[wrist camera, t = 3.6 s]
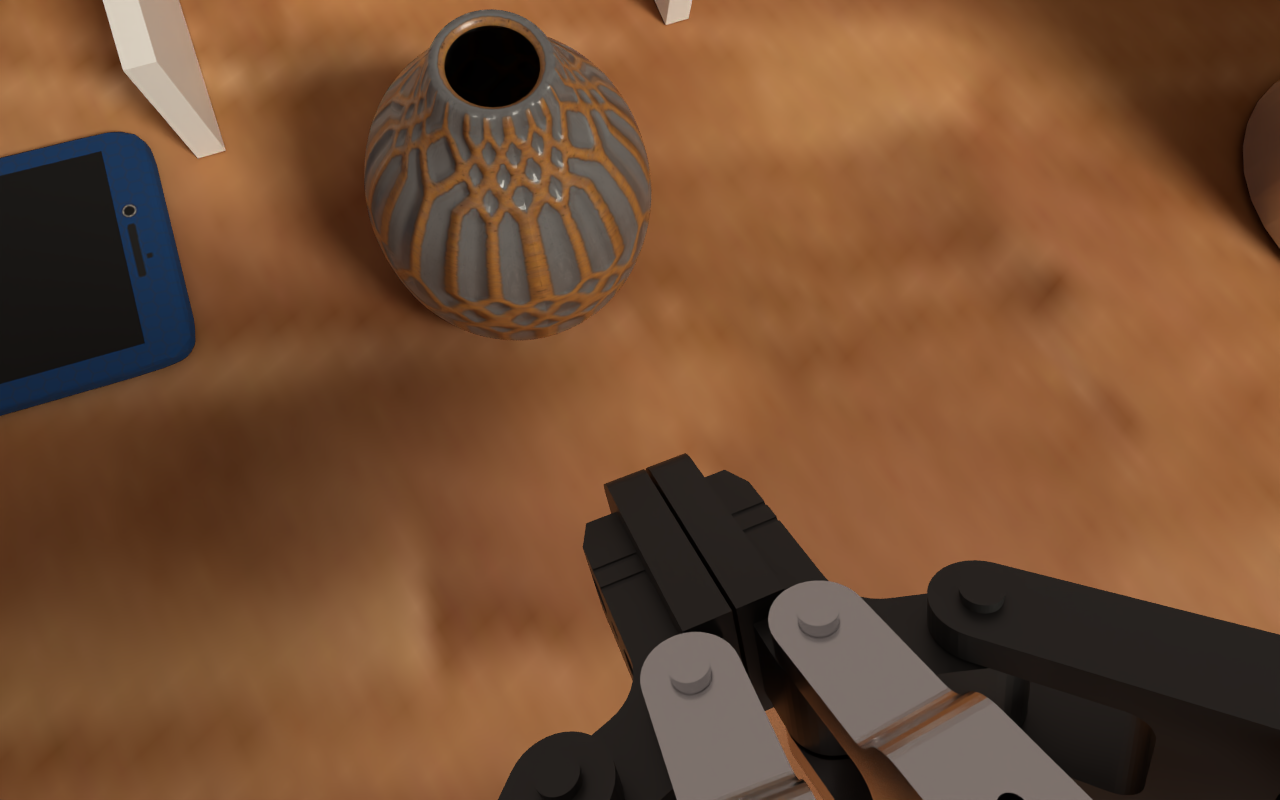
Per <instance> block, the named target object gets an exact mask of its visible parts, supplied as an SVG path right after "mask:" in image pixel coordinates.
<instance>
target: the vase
mask: <svg viewBox="0 0 1280 800" xmlns="http://www.w3.org/2000/svg"><path fill="white" fill-rule="evenodd" d="M364 182H365V197H366V204H367V208H368V213H369V217H370V222H371V225H372V228H373V231H374V234H375V236H376V238H377V241H378V243H379V245H380V247H381V250H382V252H383V254H384V255H385V257H386V259H387V261H388V262H389V264H390V265H391V267H392V269H393V270H394V272H395V273H396V275H397V276H398V278H399V279H400V280H401V281H402V283H403V284H404V285H405V286H406V288H407V289H408V290H409V291H410V292H411V293H412V294H413V295H414V297H415V298H416V299H417V300H418V301H420V302H421V303H422V304H423V305H424V306H425V307H426V308H428V309H429V310H430V311H432V312H433V313H434V314H436V315H437V316H439V317H440V318H442V319H444V320H446V321H447V322H449V323H451V324H453V325H454V326H457V327H459V328H461V329H463V330H466V331H468V332H471V333H474V334H477V335H481V336H485V337H490V338H495V339H503V340H531V339H538V338H543V337H548V336H551V335H554V334H558V333H560V332H563V331H565V330H568V329H570V328H572V327H574V326H576V325H578V324H580V323H582V322H583V321H585V320H587V319H588V318H590V317H591V316H592V315H594V314H595V313H596V312H598V311H599V310H600V309H601V308H602V307H603V306H604V305H606V304H607V303H608V302H609V301H610V299H611V298H612V297H613V296H614V295H615V294H616V293H617V292H618V290H619V289H620V288H621V287H622V285H623V284H624V282H625V281H626V280H627V278H628V276H629V275H630V273H631V271H632V269H633V267H634V265H635V263H636V261H637V258H638V256H639V253H640V251H641V248H642V245H643V242H644V238H645V235H646V231H647V227H648V222H649V215H650V206H651V178H650V169H649V162H648V158H647V154H646V150H645V146H644V143H643V140H642V136H641V134H640V131H639V129H638V126H637V124H636V121H635V119H634V117H633V115H632V113H631V111H630V109H629V107H628V106H627V104H626V102H625V100H624V99H623V97H622V96H621V94H620V93H619V91H618V90H617V89H616V87H615V86H614V85H613V83H612V82H611V81H610V80H609V79H608V78H607V76H606V75H605V74H604V73H603V72H602V71H601V70H600V69H599V68H598V67H596V66H595V65H594V64H593V63H592V62H591V61H589V60H588V59H587V58H585V57H584V56H583V55H581V54H580V53H578V52H577V51H575V50H574V49H572V48H570V47H568V46H567V45H565V44H563V43H561V42H558V41H556V40H554V39H552V38H549V37H547V36H546V35H545V34H544V33H543V32H542V31H541V30H540V29H539V28H538V27H537V26H536V25H535V24H533V23H532V22H531V21H529V20H527V19H526V18H524V17H522V16H519V15H517V14H514V13H511V12H507V11H502V10H479V11H474V12H470V13H467V14H464V15H462V16H460V17H458V18H456V19H454V20H453V21H451V22H450V23H448V24H447V25H446V26H445V27H444V28H443V29H442V30H441V31H440V32H439V33H438V35H437V36H436V37H435V39H434V41H433V42H432V44H431V46H430V48H429V49H428V50H426V51H425V52H423V53H422V54H421V55H419V56H418V57H417V58H415V59H414V60H413V61H412V62H411V63H410V64H409V65H407V66H406V67H405V68H404V69H403V71H402V72H401V73H400V74H399V75H398V76H397V78H396V79H395V80H394V82H393V83H392V84H391V85H390V87H389V88H388V90H387V91H386V93H385V95H384V96H383V98H382V100H381V102H380V104H379V106H378V109H377V111H376V114H375V116H374V118H373V121H372V125H371V128H370V132H369V136H368V141H367V146H366V154H365V166H364Z"/></svg>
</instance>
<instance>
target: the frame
mask: <svg viewBox="0 0 1280 800" xmlns="http://www.w3.org/2000/svg"><path fill="white" fill-rule="evenodd" d="M103 3H104V6H105V10H106V13H107V17H108V20H109V24H110V27H111V31H112V34H113V37H114V41H115V44H116V48H117V51H118V55H119V58H120V62H121V65H122V69H123V71H124V72H125V73H126V75H127V76H128V77H129V78H130V79H131V80H132V82H133V83H134V84H135V85H136V86H137V87H138V89H139V90H140V91H141V92H142V93H143V94H144V96H145V97H146V98H147V99H148V100H149V102H150V103H151V104H152V105H153V106H154V107H155V109H156V110H157V111H158V112H159V113H160V114H161V116H162V117H163V118H164V119H165V120H166V121H167V123H168V124H169V125H170V126H171V127H172V128H173V130H174V131H175V132H176V133H177V134H178V135H179V137H180V138H181V139H182V140H183V141H184V143H185V144H186V145H187V146H188V147H189V148H190V150H191V151H192V152H193V153H194V154H195V155H196V157H197V158H201V157H205V156H208V155H212V154H215V153H219V152H222V151H226V150H225V146H224V143H223V140H222V137H221V134H220V130H219V127H218V124H217V121H216V118H215V114H214V111H213V108H212V105H211V102H210V98H209V95H208V92H207V89H206V86H205V82H204V79H203V76H202V73H201V70H200V66H199V63H198V60H197V57H196V53H195V50H194V47H193V44H192V41H191V37H190V34H189V31H188V28H187V25H186V21H185V18H184V15H183V12H182V9H181V5H180V2H179V0H103ZM655 3H656V5H657V7H658V9H659V11H660V14H661V16H662V18H663V20H664V22H665V25H667V24H671V23H674V22H678V21H681V20H685V19H688V18H689V13H690V8H691V3H692V0H655Z"/></svg>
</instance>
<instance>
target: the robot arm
mask: <svg viewBox="0 0 1280 800" xmlns="http://www.w3.org/2000/svg"><path fill="white" fill-rule="evenodd" d="M1243 161H1244V175H1245V178H1246V182H1247V186H1248V190H1249V194H1250V197H1251V201H1252V203H1253V205H1254V207H1255V209H1256V211H1257V213H1258V215H1259V217H1260V219H1261V221H1262V223H1263V225H1264V227H1265V229H1266V230H1267V232H1268V233H1269V234H1270V236H1271V237H1272V238H1273V240H1274V241H1275V243H1276V244H1277V245H1278V247H1279V248H1280V80H1279V81H1277V82H1276V83H1275V84H1273V85H1272V86H1271V88H1270V89H1269V90H1268V91H1267V92H1266V93H1265V94H1264V95H1263V97H1262V98H1261V99H1260V100H1259V101H1258V102H1257V104H1256V107H1255V109H1254V111H1253V113H1252V115H1251V117H1250V119H1249V121H1248V123H1247V128H1246V133H1245V138H1244V143H1243ZM604 489H605V493H606V497H607V500H608V503H609V507H610V510H611V514H610V515H607V516H604V517H602V518H599V519H597V520H594V521H591V522H589V523H586V529H585V536H584V543H583V550H584V553H585V556H586V559H587V562H588V565H589V568H590V571H591V574H592V577H593V580H594V583H595V586H596V589H597V593H598V596H599V599H600V602H601V605H602V608H603V611H604V613H605V615H606V618H607V620H608V623H609V625H610V627H611V630H612V632H613V634H614V637H615V639H616V642H617V644H618V647H619V649H620V651H621V653H622V656H623V658H624V661H625V663H626V666H627V668H628V670H629V673H630V675H631V678H632V680H633V683H632V687H631V690H630V693H629V695H628V698H627V699H626V701H625V703H624V704H623V706H622V707H621V709H620V710H619V711H618V712H617V714H616V715H614V716H613V717H612V718H611V719H610V720H609V721H608V722H607V723H606V724H605V725H603V726H602V727H601V728H600V729H599V730H597V731H596V732H595V733H594V734H593V735H589V734H585V733H582V732H562V733H557V734H554V735H551V736H548V737H546V738H544V739H542V740H540V741H539V742H537V743H536V744H534V745H533V746H532V747H530V748H529V749H528V750H527V751H526V752H525V753H524V754H523V755H522V756H521V757H520V759H519V760H518V761H517V763H516V764H515V766H514V768H513V770H512V771H511V773H510V776H509V778H508V780H507V782H506V784H505V786H504V788H503V790H502V792H501V795H500V797H499V799H498V800H816V799H815V797H814V795H813V793H812V792H811V790H810V788H809V787H808V785H807V784H806V782H805V781H804V780H803V779H800V780H799V779H798V778H797V777H796V775H795V774H794V772H793V770H792V768H791V766H790V764H789V762H788V760H787V758H786V756H785V753H784V751H783V749H782V747H781V745H780V743H779V741H778V739H777V736H776V734H775V732H774V730H773V728H772V726H771V724H770V722H769V719H768V717H767V715H766V713H765V711H766V710H768V709H770V708H773V707H774V708H775V710H776V711H777V713H778V715H779V716H780V718H781V720H782V721H783V723H784V725H785V727H786V733H787V739H788V744H789V747H790V750H791V752H792V754H793V756H794V758H795V759H796V760H797V762H798V763H799V765H800V766H801V768H802V769H803V771H804V772H805V774H806V775H807V776H808V778H809V779H810V781H811V782H812V784H813V785H814V787H815V788H816V790H817V791H818V792H819V794H820V795H821V797H822V798H823V800H1280V635H1279V634H1275V633H1271V632H1267V631H1263V630H1259V629H1255V628H1251V627H1247V626H1243V625H1239V624H1235V623H1231V622H1227V621H1223V620H1219V619H1215V618H1211V617H1207V616H1203V615H1199V614H1195V613H1191V612H1187V611H1183V610H1179V609H1175V608H1171V607H1167V606H1163V605H1159V604H1155V603H1151V602H1147V601H1143V600H1139V599H1135V598H1131V597H1127V596H1123V595H1119V594H1115V593H1112V592H1108V591H1104V590H1100V589H1096V588H1092V587H1088V586H1084V585H1080V584H1076V583H1072V582H1068V581H1064V580H1060V579H1056V578H1052V577H1048V576H1044V575H1040V574H1036V573H1032V572H1028V571H1024V570H1020V569H1016V568H1012V567H1008V566H1004V565H1000V564H996V563H992V562H987V561H976V560H974V561H962V562H957V563H954V564H951V565H949V566H946V567H944V568H943V569H941V570H940V571H939V572H937V573H936V574H935V575H934V577H933V578H932V579H931V581H930V583H929V586H928V590H927V594H920V595H912V596H904V597H896V598H887V599H870V598H864V597H860V596H859V595H858V594H856V593H855V592H854V591H852V590H851V589H849V588H848V587H845V586H843V585H841V584H838V583H834V582H829V581H828V580H827V579H826V578H825V577H824V576H823V574H822V573H821V572H820V571H819V569H818V568H817V567H816V566H815V564H814V563H813V562H812V561H811V559H810V558H809V557H808V556H807V554H806V553H805V552H804V551H803V549H802V548H801V547H800V546H799V544H798V543H797V542H796V541H795V539H794V538H793V537H792V535H791V534H790V533H789V532H788V530H787V529H786V528H785V527H784V525H783V524H782V523H781V522H780V520H779V521H778V520H777V517H776V515H775V514H774V513H773V512H772V510H771V509H770V508H769V507H768V505H765V503H764V500H763V499H762V498H761V497H760V495H759V494H758V493H757V492H756V490H755V489H754V488H753V487H752V485H751V484H750V483H749V482H748V481H746V480H744V479H742V478H740V477H738V476H736V475H734V474H732V473H730V472H728V471H726V470H723V471H720V472H718V473H715V474H713V475H710V476H707V477H704V476H703V475H702V473H701V472H700V471H699V469H698V468H697V466H696V465H695V464H694V462H693V461H692V459H691V458H690V457H689V456H688V455H687V454H686V453H685V454H682V455H679V456H677V457H674V458H671V459H669V460H666V461H664V462H661V463H658V464H656V465H653V466H650V467H648V468H646V471H645V470H644V469H643V470H640V471H638V472H635V473H632V474H630V475H627V476H624V477H622V478H619V479H617V480H614V481H611V482H609V483H606V484H604Z"/></svg>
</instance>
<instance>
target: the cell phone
mask: <svg viewBox="0 0 1280 800" xmlns="http://www.w3.org/2000/svg"><path fill="white" fill-rule="evenodd" d="M194 345H195V325H194V318H193V314H192V310H191V306H190V301H189V297H188V293H187V289H186V285H185V281H184V276H183V272H182V268H181V264H180V260H179V256H178V252H177V247H176V243H175V239H174V235H173V231H172V227H171V222H170V218H169V214H168V210H167V206H166V202H165V198H164V193H163V189H162V185H161V181H160V177H159V173H158V168H157V164H156V162H155V159H154V156H153V153H152V151H151V149H150V148H149V146H148V145H147V144H146V142H144V141H143V140H142V139H140V138H139V137H137V136H136V135H135V134H129V133H124V132H110V133H104V134H100V135H95V136H90V137H86V138H81V139H77V140H73V141H68V142H64V143H60V144H56V145H52V146H48V147H44V148H40V149H36V150H31V151H27V152H23V153H19V154H15V155H11V156H7V157H3V158H0V416H1V415H5V414H8V413H12V412H15V411H19V410H22V409H26V408H29V407H33V406H36V405H40V404H43V403H47V402H50V401H54V400H57V399H61V398H64V397H68V396H71V395H75V394H78V393H82V392H85V391H89V390H92V389H96V388H99V387H103V386H106V385H110V384H113V383H117V382H120V381H124V380H127V379H130V378H134V377H137V376H140V375H143V374H146V373H149V372H152V371H156V370H159V369H162V368H165V367H167V366H170V365H173V364H175V363H177V362H179V361H181V360H183V359H184V358H186V357H187V356H188V355H189V354H190V353H191V351H192V349H193V347H194Z"/></svg>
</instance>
